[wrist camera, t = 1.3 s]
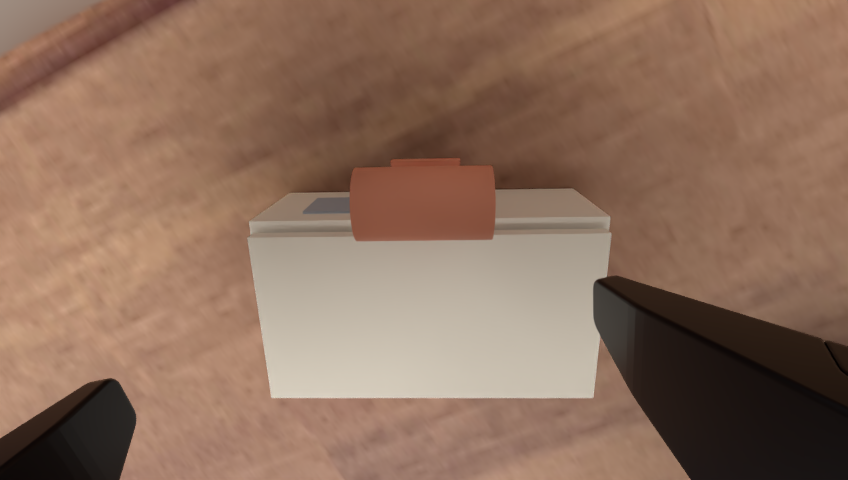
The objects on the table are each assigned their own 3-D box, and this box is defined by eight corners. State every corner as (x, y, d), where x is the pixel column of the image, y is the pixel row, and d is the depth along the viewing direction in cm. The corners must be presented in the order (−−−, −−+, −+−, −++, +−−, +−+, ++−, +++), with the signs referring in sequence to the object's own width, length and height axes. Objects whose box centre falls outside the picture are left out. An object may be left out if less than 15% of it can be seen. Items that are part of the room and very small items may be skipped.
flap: (614, 149, 16) (673, 169, 12) (588, 388, 19) (628, 468, 15) (242, 156, 16) (179, 177, 12) (276, 388, 20) (234, 465, 16)
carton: (573, 186, 22) (610, 214, 17) (561, 326, 24) (591, 385, 19) (289, 190, 22) (248, 218, 17) (305, 328, 24) (273, 385, 20)
